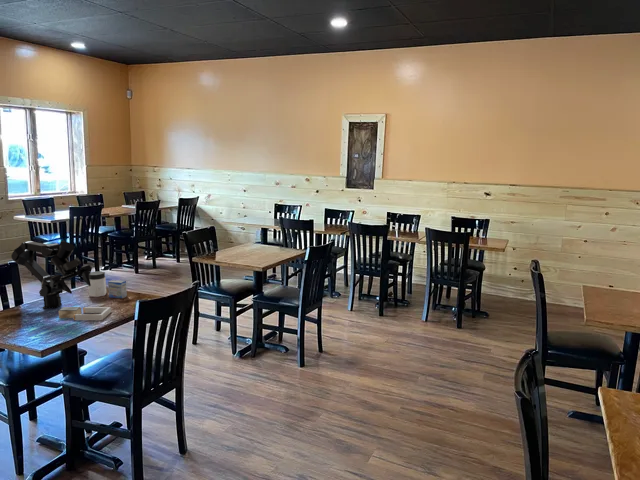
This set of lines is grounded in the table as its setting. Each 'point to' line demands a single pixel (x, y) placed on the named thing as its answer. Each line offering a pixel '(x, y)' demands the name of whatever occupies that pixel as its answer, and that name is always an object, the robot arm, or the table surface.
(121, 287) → the medicine box
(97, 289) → the jar
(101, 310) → the frame
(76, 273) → the robot arm
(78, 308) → the grey beige block
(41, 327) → the table surface
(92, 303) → the table surface
